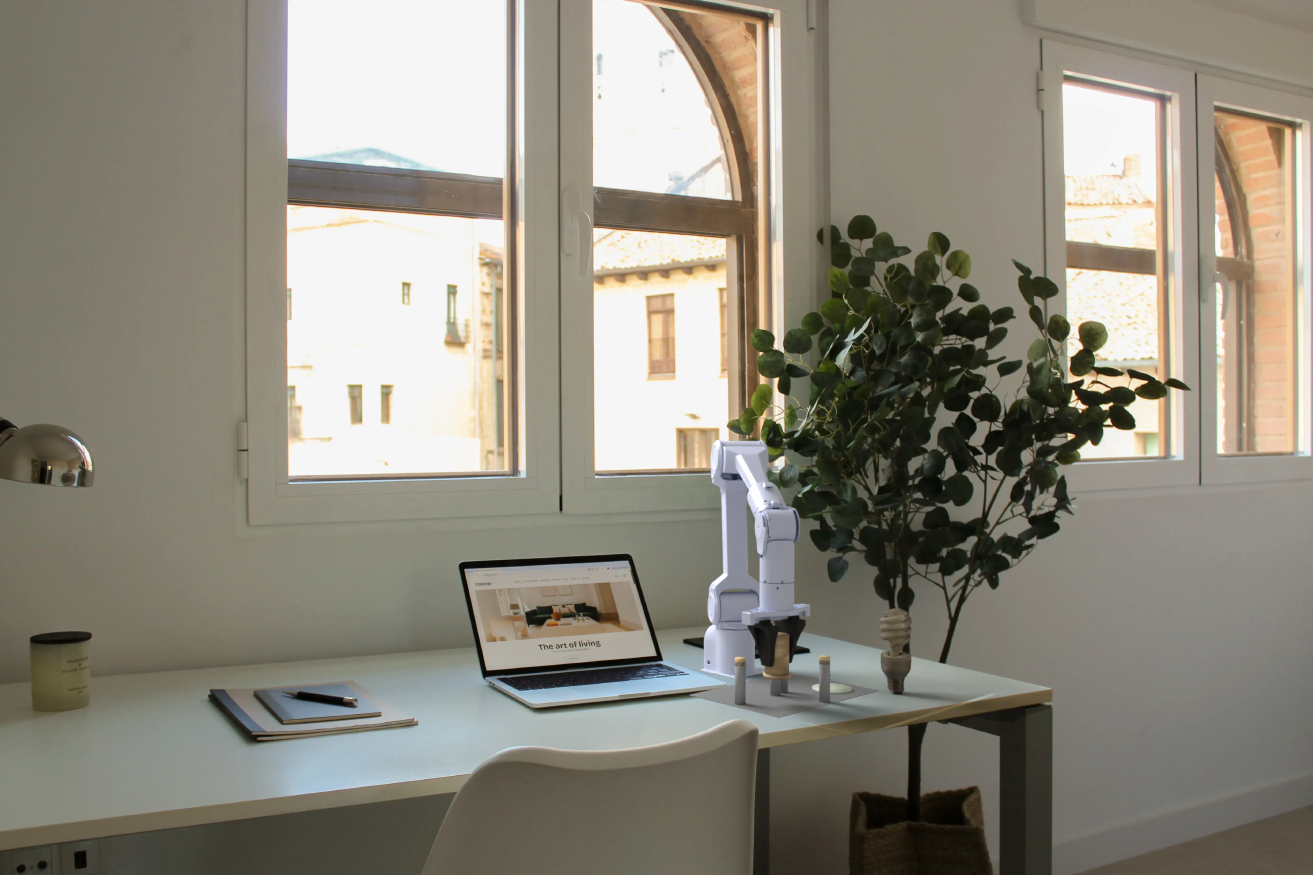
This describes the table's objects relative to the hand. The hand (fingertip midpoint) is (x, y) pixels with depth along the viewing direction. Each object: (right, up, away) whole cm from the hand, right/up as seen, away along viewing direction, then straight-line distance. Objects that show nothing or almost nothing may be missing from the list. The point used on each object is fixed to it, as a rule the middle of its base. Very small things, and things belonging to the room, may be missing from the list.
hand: (776, 664), depth 170 cm
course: (+2, -7, +8) cm, 11 cm away
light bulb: (+21, -7, +8) cm, 24 cm away
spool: (0, -2, 0) cm, 2 cm away
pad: (+11, -7, +10) cm, 16 cm away
